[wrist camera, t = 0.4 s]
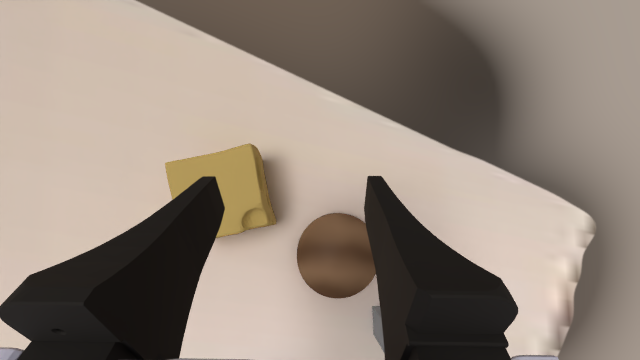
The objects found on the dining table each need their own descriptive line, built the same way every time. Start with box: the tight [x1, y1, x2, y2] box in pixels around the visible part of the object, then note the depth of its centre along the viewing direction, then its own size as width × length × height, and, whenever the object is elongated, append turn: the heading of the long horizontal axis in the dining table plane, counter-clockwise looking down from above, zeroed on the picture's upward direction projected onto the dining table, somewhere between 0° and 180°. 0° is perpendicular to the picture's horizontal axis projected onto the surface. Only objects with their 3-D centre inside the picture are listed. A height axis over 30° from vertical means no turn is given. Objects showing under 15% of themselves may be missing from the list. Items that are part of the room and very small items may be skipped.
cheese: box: [165, 144, 276, 238], centre depth 36 cm, size 10×11×10 cm
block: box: [372, 306, 385, 353], centre depth 38 cm, size 4×4×6 cm
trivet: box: [297, 213, 376, 298], centre depth 41 cm, size 12×12×2 cm
